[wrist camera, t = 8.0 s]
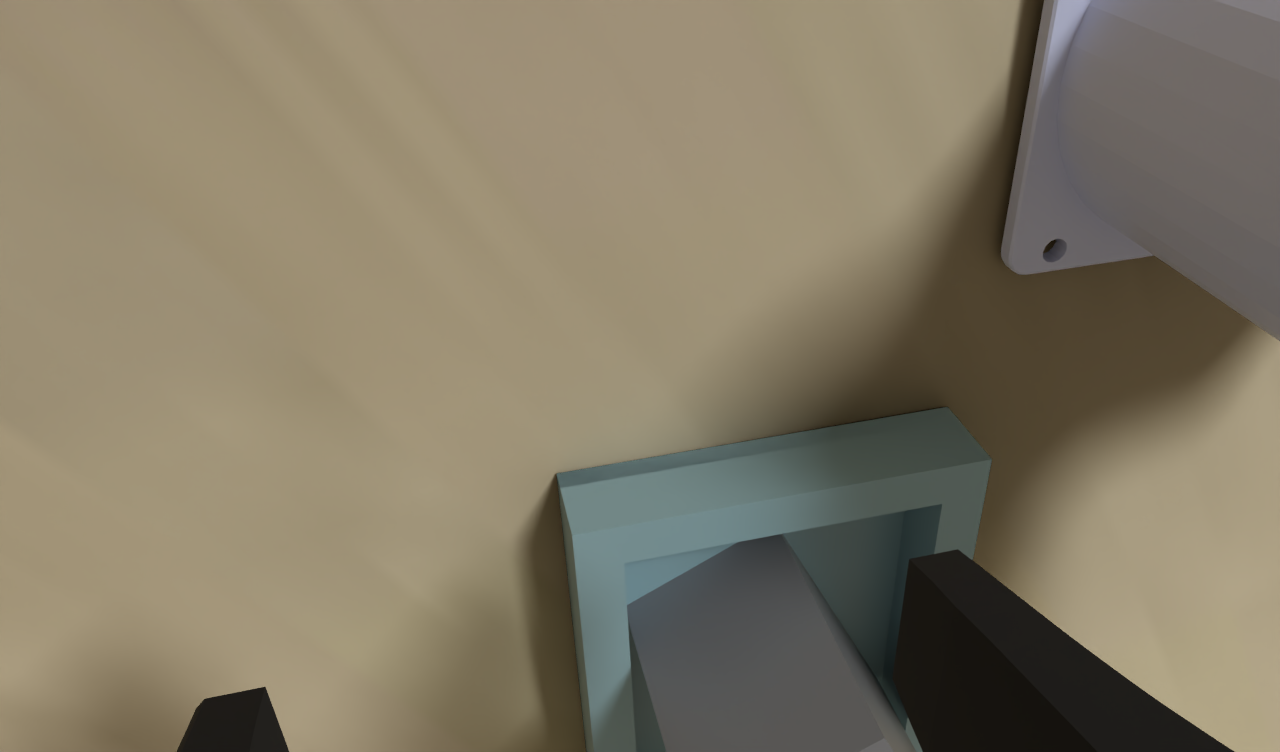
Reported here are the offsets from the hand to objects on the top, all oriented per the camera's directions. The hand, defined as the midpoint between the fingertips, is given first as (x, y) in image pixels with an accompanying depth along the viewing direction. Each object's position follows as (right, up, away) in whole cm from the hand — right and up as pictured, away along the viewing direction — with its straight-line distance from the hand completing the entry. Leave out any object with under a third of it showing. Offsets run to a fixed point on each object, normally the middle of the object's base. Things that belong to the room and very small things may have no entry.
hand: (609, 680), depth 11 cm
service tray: (+3, -3, +14) cm, 15 cm away
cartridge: (+3, -3, +14) cm, 15 cm away
